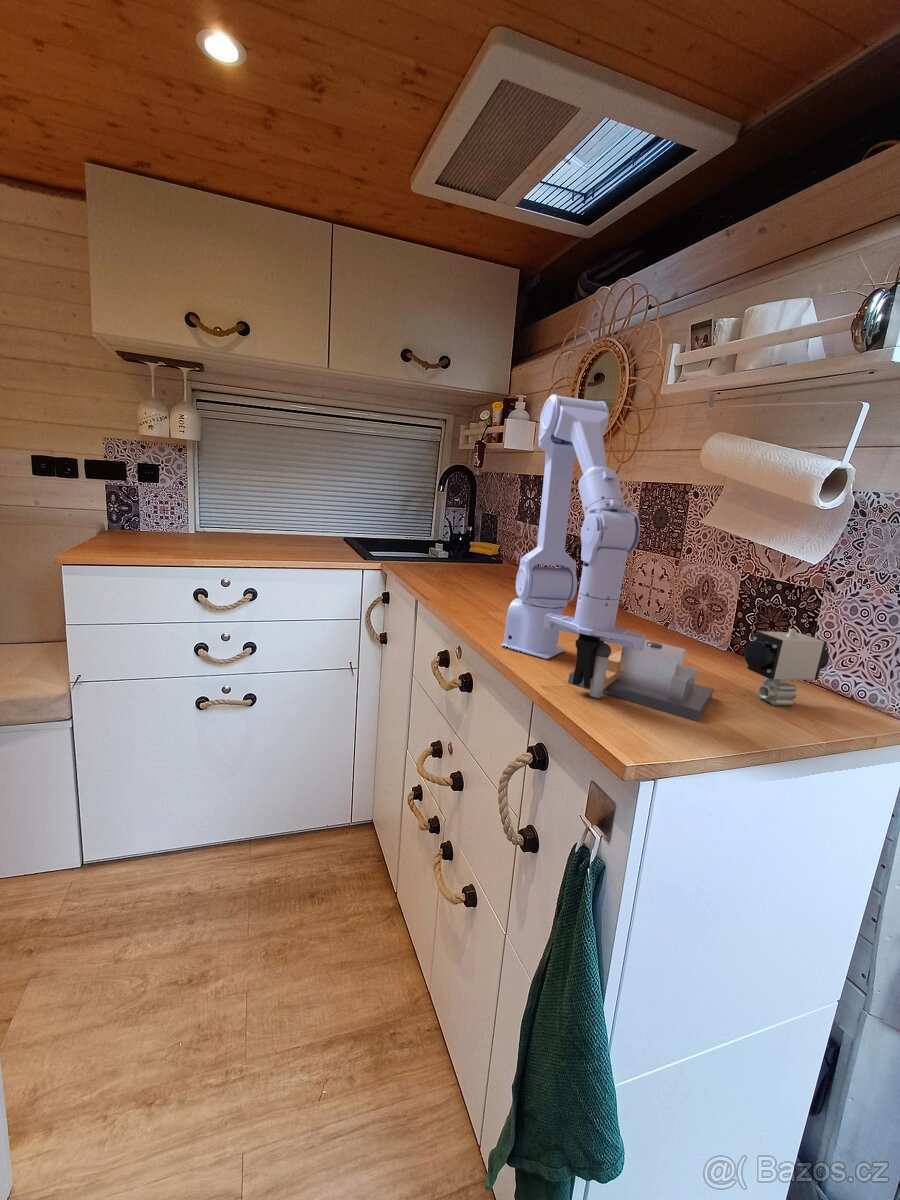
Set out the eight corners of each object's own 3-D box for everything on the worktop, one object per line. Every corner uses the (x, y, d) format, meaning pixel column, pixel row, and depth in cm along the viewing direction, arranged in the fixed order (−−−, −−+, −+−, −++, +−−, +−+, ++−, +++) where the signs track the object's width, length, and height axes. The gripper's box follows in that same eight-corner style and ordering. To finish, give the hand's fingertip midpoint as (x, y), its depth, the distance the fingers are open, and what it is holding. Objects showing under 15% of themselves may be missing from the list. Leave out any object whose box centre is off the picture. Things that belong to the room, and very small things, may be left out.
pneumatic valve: (817, 708, 87) (836, 635, 84) (755, 708, 84) (773, 632, 82) (789, 694, 92) (806, 625, 90) (729, 694, 89) (745, 622, 87)
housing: (616, 679, 86) (623, 640, 85) (626, 672, 90) (632, 635, 89) (670, 694, 82) (678, 654, 80) (677, 686, 86) (685, 647, 84)
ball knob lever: (585, 695, 81) (594, 642, 79) (614, 674, 92) (622, 627, 90) (600, 699, 80) (609, 646, 78) (627, 678, 91) (635, 631, 89)
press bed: (567, 682, 87) (572, 655, 86) (594, 666, 97) (598, 641, 96) (697, 720, 77) (703, 690, 76) (711, 698, 87) (717, 670, 86)
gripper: (540, 588, 80) (527, 677, 83) (642, 610, 72) (623, 707, 75) (560, 583, 86) (547, 666, 89) (656, 603, 78) (638, 694, 81)
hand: (583, 684), depth 82 cm, fingers closed, pressing on ball knob lever
